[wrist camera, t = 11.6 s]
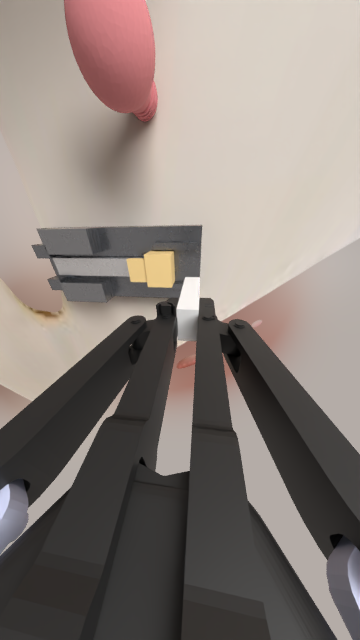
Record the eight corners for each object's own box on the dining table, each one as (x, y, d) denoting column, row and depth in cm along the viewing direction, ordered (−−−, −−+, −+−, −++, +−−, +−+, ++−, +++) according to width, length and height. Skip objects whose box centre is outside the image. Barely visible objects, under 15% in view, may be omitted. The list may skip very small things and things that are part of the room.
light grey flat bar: (63, 273, 31) (59, 275, 30) (57, 257, 29) (52, 258, 28) (151, 275, 29) (150, 276, 28) (149, 257, 27) (147, 258, 26)
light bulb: (114, 129, 23) (42, 56, 13) (123, 44, 19) (31, -156, 9) (160, 153, 23) (129, 102, 13) (178, 76, 20) (152, -75, 10)
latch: (138, 279, 30) (130, 286, 27) (133, 250, 27) (124, 254, 24) (175, 280, 29) (171, 287, 26) (173, 250, 26) (170, 254, 23)
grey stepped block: (77, 287, 37) (53, 300, 31) (54, 227, 31) (19, 229, 25) (199, 290, 34) (198, 305, 28) (202, 224, 28) (201, 226, 22)
